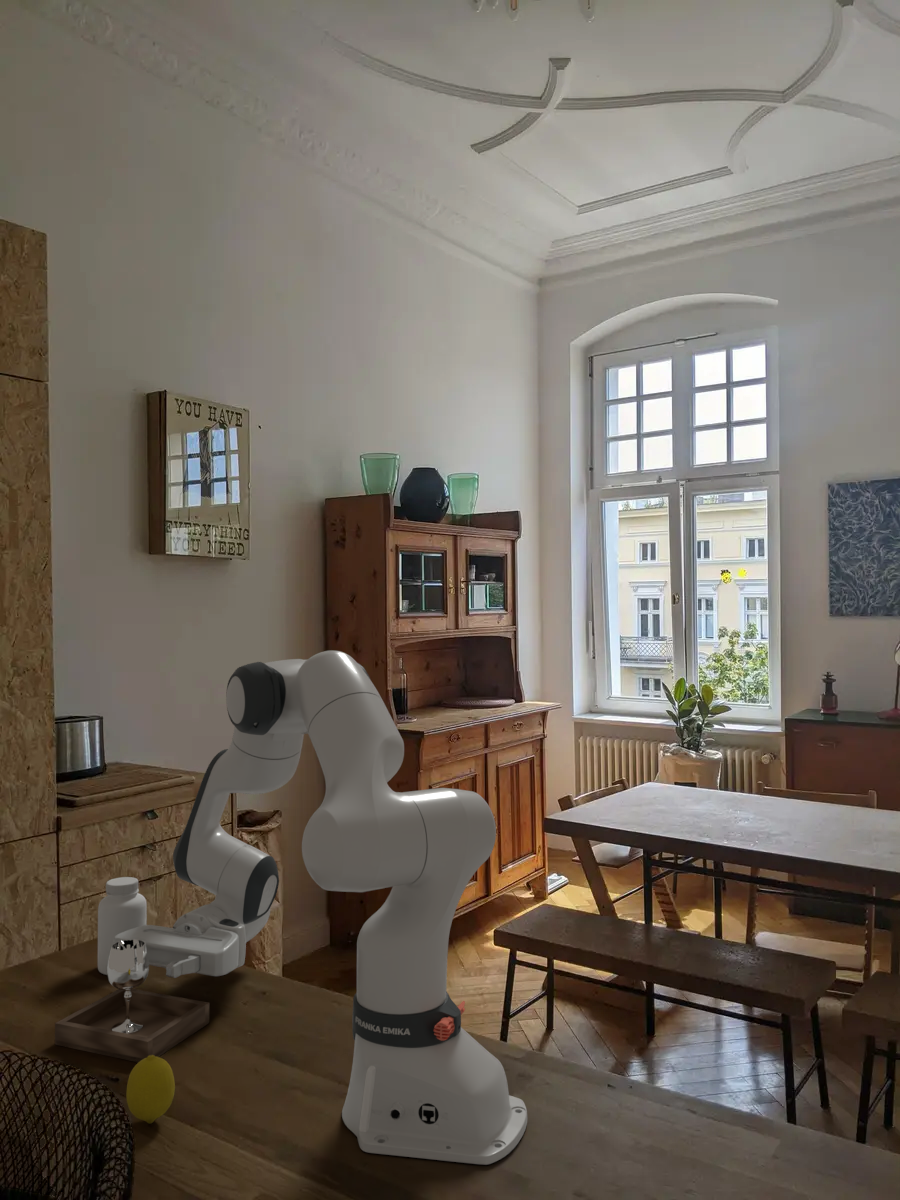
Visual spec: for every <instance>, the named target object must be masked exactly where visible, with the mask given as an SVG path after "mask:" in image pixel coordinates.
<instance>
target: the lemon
mask: <svg viewBox="0 0 900 1200" xmlns="http://www.w3.org/2000/svg"><path fill="white" fill-rule="evenodd" d="M136 1063H137V1064H135V1065H134V1067H133V1068H132V1069H131V1071H130V1073H129V1077H128V1079H127V1085H126V1094H125V1095H126V1104H127V1107H128V1109H129V1111H130V1113H131V1114H132V1115H133V1116H134V1117H135V1118H136V1119H139V1120H141V1121H145V1122H146V1123H147V1124H152V1123H154V1121H156V1119H159V1118H161V1117H162V1116H163V1115H164V1114H166V1112H167V1111H168V1110H169V1109H170V1106H171V1105H172V1103H173V1100H174V1095H175V1092H176V1090H175V1089H176V1085H175V1084H176V1081H175V1077H174V1072H173V1068H172V1067H171V1065H170V1063H168V1061H167V1060H166V1059H164V1058H162V1057H161V1056H159V1057H155V1056H154V1055H149V1056H148V1057H147V1058H144V1059H143V1060H141V1061H140V1062H136Z"/></svg>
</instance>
